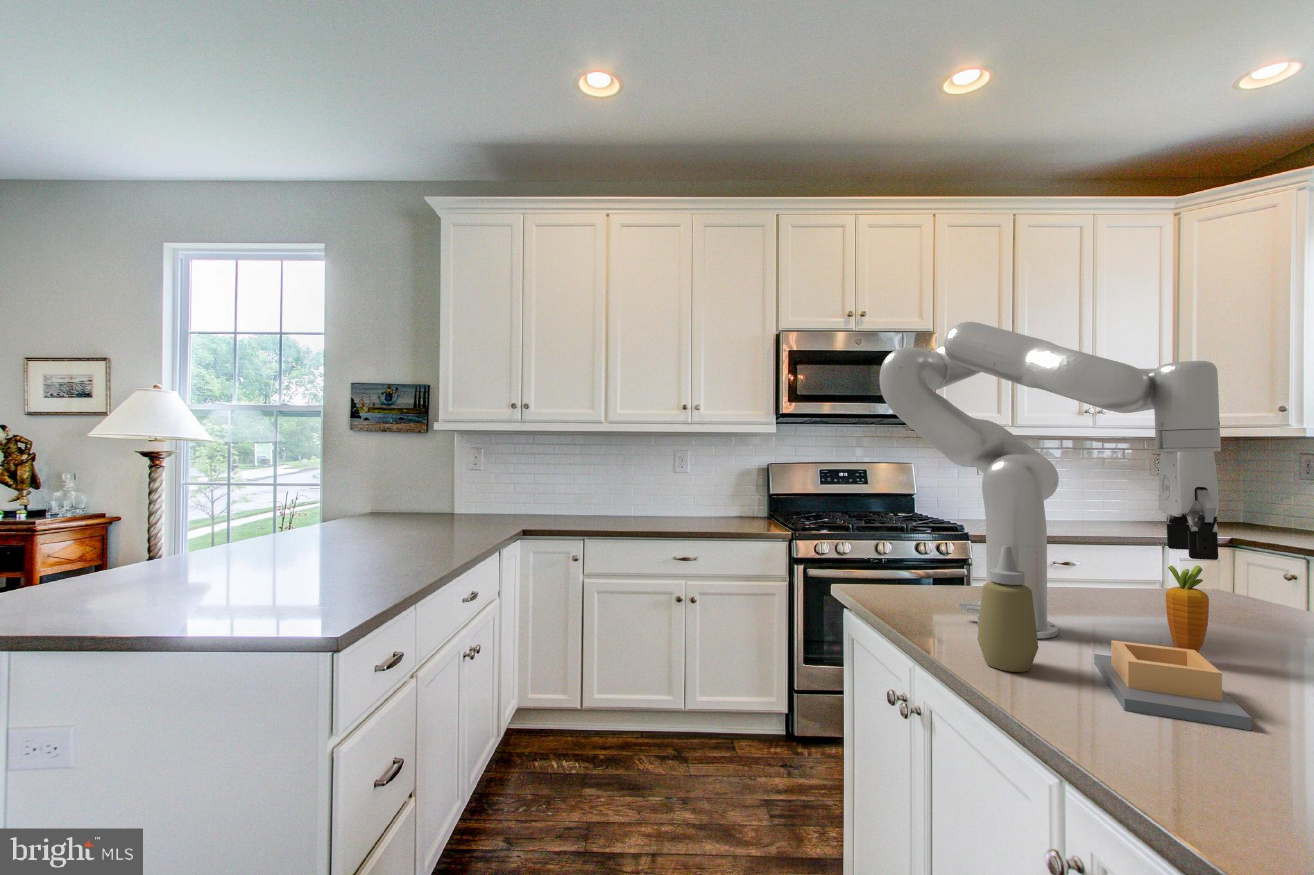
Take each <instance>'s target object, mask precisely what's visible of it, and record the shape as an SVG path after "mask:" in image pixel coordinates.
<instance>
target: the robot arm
mask: <svg viewBox="0 0 1314 875" xmlns="http://www.w3.org/2000/svg"><path fill="white" fill-rule="evenodd" d="M884 358H885V359H884V360H883V361H882V364H881V366H880V369H879V370H880V371H879V389H880V392H881V396H882V397H883V400H884V401H885V403H886V404H887V406H888V408H889V409H890V410H891V411H892V412H893V413H894V414H895V415H896V417H898V418H899V420H901V421H902V422H903V423H905V424H906V425H907V427H908V426H909V427H910V428H911V429H912V430H914V431H915V432H916V433H917V434H919V436H920V437H922V439H924V440H925V441H926V442H927V443H929V444H930V445H931V446H932V447H934V448H935V449H936V450H938V452H940V453H941V454H942V455H943V456H944V457H946V459H948V460H949V461H950V462H952V463H953V464H955V465H957V466H959V467H962V468H963V467H964V468H976V469H977V470H979V472H980V473H982V474H983V475H982V482H981V491H982V500H983V506H984V513H985V515H984V516H985V542H986V544H985V546H986V548H985V550H986V553H985V556H986V557H985V558H986V559H985V560H986V562H985V563H986V566H985V568H986V572H985V574H986V583H988V582H991V581H990V569H992V568H997V567H998V562H999V558H1000V554H1001V550H1002V546H1009V547H1011V549H1012V553H1013V557H1014V561H1015V565H1016V569H1017V570H1020V571H1023V572H1024V573H1025V583H1024V584H1022V585H1025V586H1027V587H1028V588H1030V589H1031V590H1032V598H1033V606H1034V614H1035V623H1036V631H1037V639H1050V638H1053V637H1056V636H1058V634H1059V627H1058V625H1057V624H1055V623H1053V622H1052V621H1049V620H1048V543H1047V542H1048V540H1047V539H1048V537H1047V534H1048V532H1047V519H1046V511H1045V501H1046V500H1048V499H1049V498H1051V497H1052V496H1053V495H1054V494H1055V493H1056V491H1057V489H1058V487H1059V482H1060V481H1059V480H1060V479H1059V478H1060V477H1059V472H1058V471H1057V468H1056V467H1055V465H1054V464H1053V463H1052V462H1051V461H1050V460H1049V459H1048V458H1047V457H1045V456H1044V455H1042V454H1041V453H1040V452H1039V451H1038V450H1036V449H1034V448H1033V447H1031V446H1030V445H1029V444H1027V443H1026V442H1025V441H1023V440H1022V439H1020V438H1019V437H1018V436H1017V435H1015V434H1013V433H1012V432H1010V431H1009V430H1008V429H1006V428H1005V427H1003V426H1002V425H1000V424H998V423H997V422H994V421H991V420H989V419H983V418H982V419H981V418H975V417H972V416H970V415H969V414H967V413H966V412H964V411H962V410H961V409H959V408H958V407H957V406H956V405H954V404H953V403H952V402H950V401H949V399H947V398H945V397H944V396H942V395H941V394H940V393H937V392H935V391H937V390H941V389H943V388H946V387H949V386H951V385H954V384H957V383H959V382H961V381H963V380H966V379H969V378H971V377H973V376H976V375H978V374H981V373H983V374H987V375H990V376H994V377H996V378H999V379H1002V380H1005V381H1008V382H1011V383H1014V384H1016V385H1019V386H1024V387H1027V388H1030V389H1038V390H1042V391H1047V392H1049V393H1052V394H1055V395H1058V396H1060V397H1065V398H1067V399H1071V400H1074V401H1077V402H1080V403H1083V404H1087V405H1089V406H1093V407H1096V408H1099V409H1102V410H1105V411H1109V412H1115V413H1118V414H1131V413H1132V414H1133V413H1139V412H1144V411H1151V410H1153V411H1154V412H1153V413H1154V433H1155V434H1154V436H1155V437H1154V438H1155V452H1156V453H1160V458H1159V467H1158V470H1159V472H1158V509H1159V511H1160V512H1162V513H1163V514H1166V540H1167V541H1166V542H1167V543H1166V544H1167V546H1166V547H1167V548H1168V549H1170V550H1186V551H1187V550H1188V557H1189V558H1190V559H1192V560H1208V561H1209V560H1211V561H1217V560H1219V539H1218V538H1219V537H1218V530H1219V529H1218V524H1217V522H1218V517H1217V515H1218V514H1219V505H1220V504H1219V485H1218V473H1217V464H1216V458H1215V452H1221V450H1222V448H1221V447H1222V446H1221V444H1222V443H1221V428H1220V427H1221V426H1220V425H1221V424H1220V423H1221V422H1220V399H1219V398H1220V397H1219V374H1218V369H1217V366H1216V365H1215V364H1214V363H1213V362H1211V361H1206V360H1187V361H1185V360H1184V361H1174V362H1169V363H1164V364H1161V365H1159V366H1157V367H1156V368H1155V367H1154V368H1140V367H1135V366H1133V365H1130V364H1128V363H1124V362H1120V361H1116V360H1112V359H1110V358H1109V359H1108V358H1104V357H1102V356H1098V355H1095V354H1092V353H1091V354H1090V353H1087V352H1083V351H1080V350H1079V351H1078V350H1076V349H1071V348H1068V347H1064V346H1060V345H1057V344H1055V343H1053V342H1051V341H1048V340H1044V339H1042V338H1041V339H1040V338H1037V337H1034V336H1030V335H1026V334H1021V333H1018V332H1014V331H1010V330H1008V329H1007V330H1006V329H1003V328H1000V327H996V326H993V325H988V324H985V323H980V322H975V321H964V322H960V323H959V324H956V325H954V326H953V327H952V328H950V330H949V331H948V332H947V334H946V335H945V338H944V342H943V345H942V346H939V347H938V348H935V349H931V351H930V350H928V349H927V350H925V349H922V348H917V347H909V346H908V347H907V346H906V347H901V348H897V349H895V350H893V351H891V352H890V353H889V354H888V355H887V356H886V357H884ZM986 583H985V584H986ZM981 600H982V599H979V600H977V601H971V600H965V599H959V601H958V603H959V611H966V613H967V614H978V616H977V619H976V620H977V621H976V623H977V625H979V619H980V609H981Z"/></svg>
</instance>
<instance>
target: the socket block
mask: <svg viewBox="0 0 1314 875" xmlns="http://www.w3.org/2000/svg"><path fill="white" fill-rule="evenodd" d="M1110 642H1111V644H1110V650H1111V652H1110V653H1111V654H1110V655H1108V654H1100V653H1099V654H1098V653H1094V656H1093V657H1094V658H1093V659H1094V660H1093V661H1094V663H1093V664H1094V666H1095V668H1096V669H1097V670H1098V672H1099V673H1100V674H1101V676H1102V678H1103V679H1104V680H1105V682H1106V684H1107V685H1108V687H1109V688H1110V690H1111V692H1112V694H1114V697H1115V698H1116V699H1117V701H1118V703H1119V704H1120V706H1121V707H1122V709H1123V710H1124V711H1126V712H1131V713H1132V712H1133V713H1138V714H1146V715H1151V716H1157V717H1165V718H1170V719H1171V718H1172V719H1176V720H1182V721H1189V722H1196V723H1202V724H1207V725H1208V724H1210V725H1215V726H1220V727H1227V728H1232V729H1241V730H1245V731H1252V728H1253V727H1252V726H1253V725H1252V723H1253V722H1252V721H1253V720H1252V716H1250V715H1249V713H1247V712H1246V711H1245V710H1244V709H1243V708H1241V706H1240V705H1239V704H1237V703H1236V702H1235V701H1234V700H1233V699H1232V698H1231V697H1230V696H1229V695H1227V693H1226V692H1224V691H1223V672H1221V671H1220V670H1219V669H1218V668H1216V667H1215V666H1214V665H1213V664H1212V663H1210V662H1209V661H1208V660H1207V659H1206V658H1204V657H1203V656H1202V655H1201V654H1200V653H1198V652H1196V651H1195V650H1190V649H1182V648H1176V647H1172V646H1171V647H1170V646H1163V645H1156V644H1155V645H1154V644H1147V643H1138V642H1129V641H1120V640H1113V639H1112V640H1111V639H1110Z"/></svg>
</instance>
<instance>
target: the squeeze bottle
mask: <svg viewBox="0 0 1314 875" xmlns="http://www.w3.org/2000/svg"><path fill="white" fill-rule="evenodd" d="M990 581H991V582H988V583H984V584H983V585H982V592H981V599H980V600H981V609H980V614H979V615H980V619H979V624H978V629H977V630H978V631H977V643H978V646H979V647H980V651H981V653H982V656H983V660H984V661H985V664H987V665H988V666H989V667H992V668H994V669H998V670H1002V671H1005V672H1006V671H1007V672H1011V673H1012V672H1013V673H1022V672H1023V673H1025V672H1028V671H1029V670H1031V668H1032V665H1033V663H1034V661H1035V658H1036V655H1037V653H1038V650H1039V641H1038V638H1037V631H1036V623H1035V614H1034V606H1033V598H1032V590H1031V589H1030V588H1028V587H1027V586H1025V585H1022V584H1024V583H1025V573H1024V572H1023V571H1020V570H1017V569H1016V565H1015V561H1014V557H1013V553H1012V549H1011V547H1009V546H1002V550H1001V554H1000V558H999V562H998V567H997V568H992V569H990Z"/></svg>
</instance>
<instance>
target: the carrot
mask: <svg viewBox="0 0 1314 875" xmlns="http://www.w3.org/2000/svg"><path fill="white" fill-rule="evenodd" d="M1167 568H1168V570H1169V571H1170V572H1171V574H1172V576H1173V577H1174V579H1175V580H1176V582H1177V584H1178V585H1179V586H1175V587H1171V588H1168V589H1167V590H1166V592H1165V604H1166V605H1165V608H1166V618H1167V622H1168V623H1167V624H1168V628H1169V629H1168V630H1169V632H1170V633H1169V634H1170V636H1171V640H1172V642H1173V644H1174V646H1175V648H1182V649H1190V650H1195V651H1196V652H1198V653H1199V652H1200V651H1201V649H1202V647H1203V645H1204V643H1205V638H1206V635H1207V631H1208V626H1209V611H1210V610H1209V609H1210V608H1209V607H1210V599H1209V596H1208V594H1207V593H1205V592H1204V591H1202V590H1201V589H1198V588H1195V587H1196V586H1197V585H1199V584H1201V583H1203V582H1204V580H1203V579H1202V578H1198V577H1199V576H1200V575H1201V573H1202V572H1203V568H1202V567H1201V566H1200V565H1194V567H1193V568H1192V569H1191V571H1190V569H1189V568H1184V569H1182V571H1181V573H1180V574H1179V572H1178V570H1177V569H1176V567H1175V566H1173V565H1169V566H1168V567H1167ZM1199 654H1200V653H1199Z"/></svg>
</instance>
